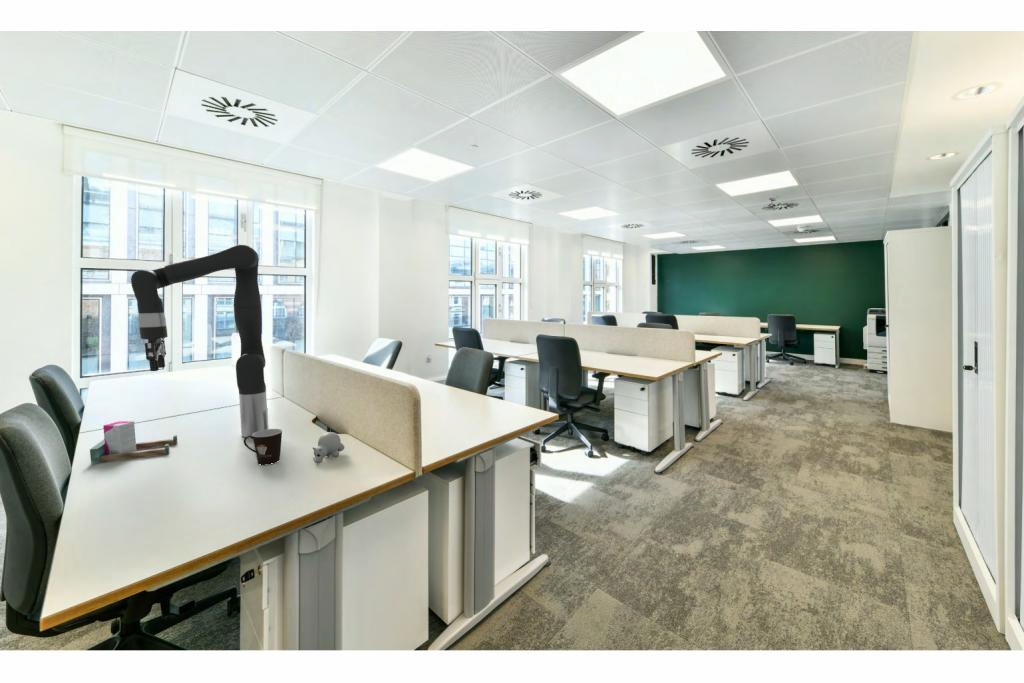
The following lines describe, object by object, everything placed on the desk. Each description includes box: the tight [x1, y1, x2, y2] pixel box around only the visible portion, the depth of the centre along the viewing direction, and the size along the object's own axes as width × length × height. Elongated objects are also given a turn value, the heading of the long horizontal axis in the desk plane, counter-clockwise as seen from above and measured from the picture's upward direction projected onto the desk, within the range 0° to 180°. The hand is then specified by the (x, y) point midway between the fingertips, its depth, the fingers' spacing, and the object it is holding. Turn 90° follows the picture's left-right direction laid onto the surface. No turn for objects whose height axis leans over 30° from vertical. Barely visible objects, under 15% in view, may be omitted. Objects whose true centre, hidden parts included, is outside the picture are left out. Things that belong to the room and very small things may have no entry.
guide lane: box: [89, 434, 178, 465], centre depth 144 cm, size 20×12×5 cm, turn 117°
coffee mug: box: [243, 428, 283, 466], centre depth 138 cm, size 12×9×10 cm
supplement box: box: [103, 420, 137, 455], centre depth 142 cm, size 6×6×12 cm
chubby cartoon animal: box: [312, 431, 346, 464], centre depth 140 cm, size 7×12×8 cm, turn 162°
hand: (158, 369), depth 151 cm, fingers open, 8 cm apart
